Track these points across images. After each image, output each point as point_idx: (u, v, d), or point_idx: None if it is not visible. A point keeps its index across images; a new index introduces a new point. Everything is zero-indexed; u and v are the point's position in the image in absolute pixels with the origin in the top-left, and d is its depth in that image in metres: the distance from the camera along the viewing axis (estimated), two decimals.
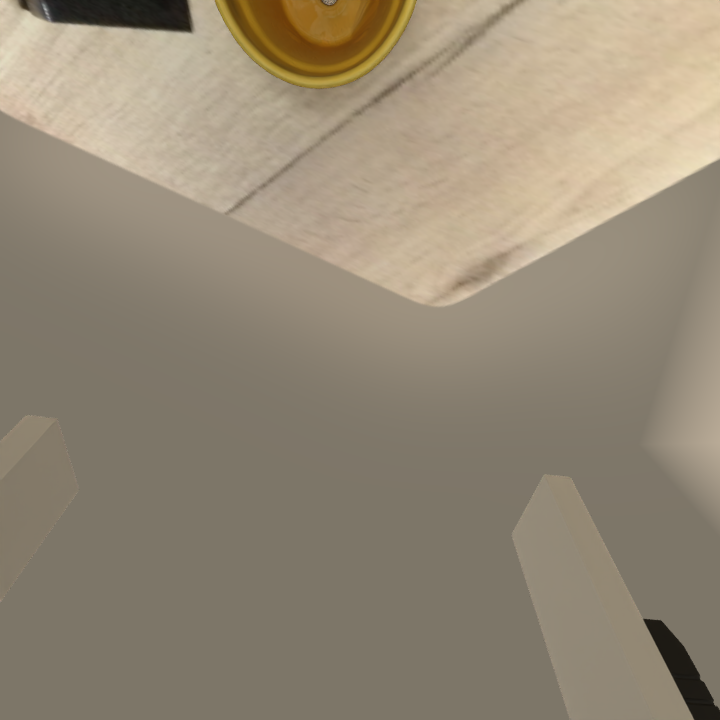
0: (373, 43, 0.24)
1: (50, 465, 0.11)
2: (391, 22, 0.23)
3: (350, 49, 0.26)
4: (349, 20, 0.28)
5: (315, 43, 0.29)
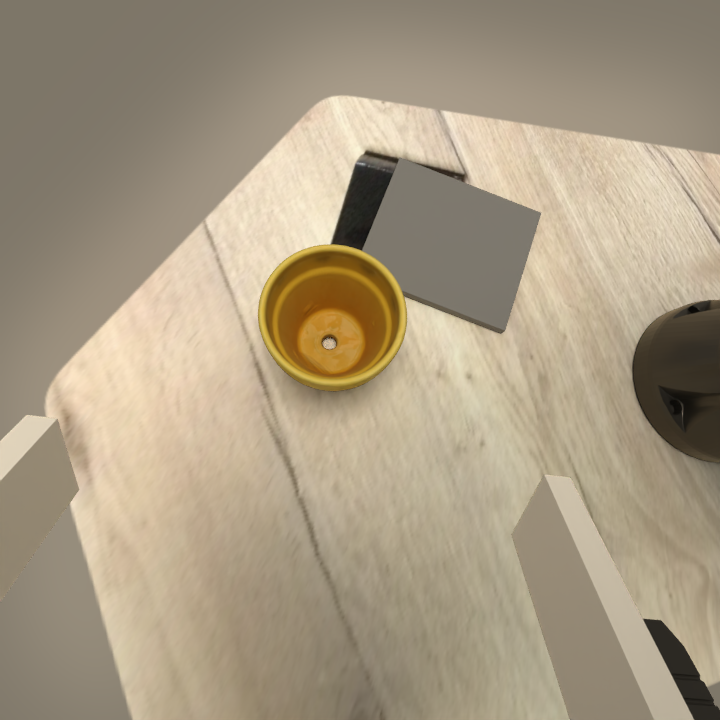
0: (283, 351, 0.32)
1: (50, 465, 0.11)
2: (291, 365, 0.32)
3: (288, 341, 0.35)
4: (310, 352, 0.38)
5: (302, 325, 0.38)
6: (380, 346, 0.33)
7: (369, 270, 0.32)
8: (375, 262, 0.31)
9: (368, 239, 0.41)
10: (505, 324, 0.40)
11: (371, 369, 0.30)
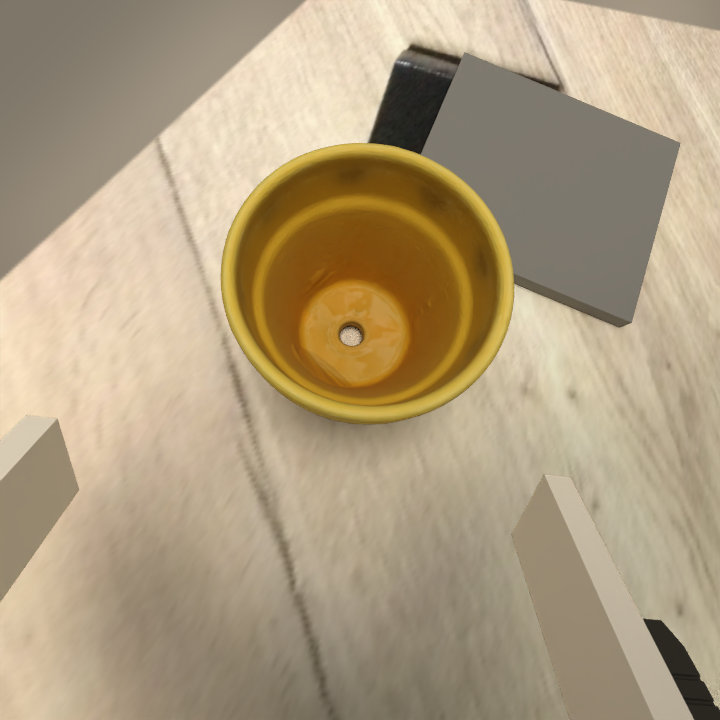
0: (271, 346, 0.17)
1: (50, 465, 0.11)
2: (286, 373, 0.17)
3: (283, 330, 0.20)
4: (320, 350, 0.23)
5: (308, 305, 0.23)
6: (448, 342, 0.18)
7: (436, 199, 0.17)
8: (453, 179, 0.16)
9: None
10: (632, 312, 0.25)
11: (446, 388, 0.15)
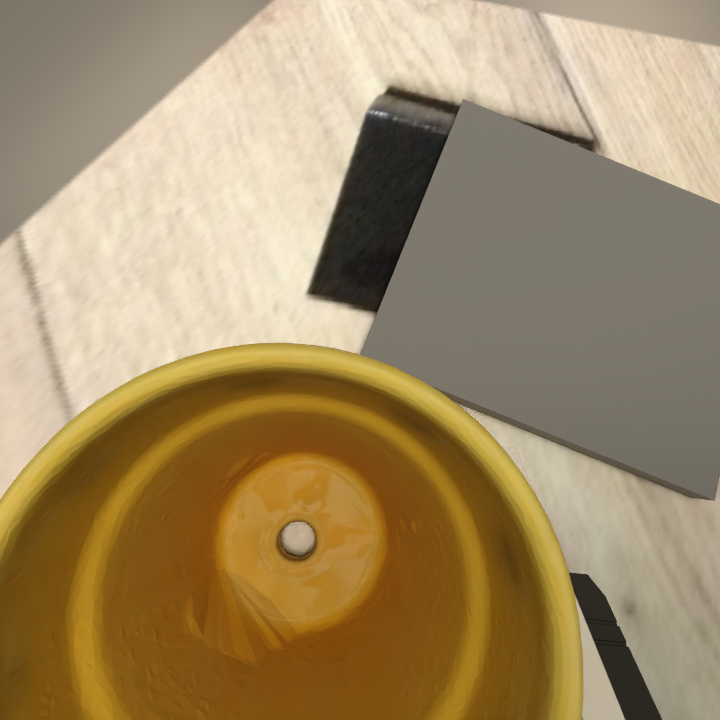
0: (106, 711, 0.09)
1: None
2: None
3: (166, 596, 0.12)
4: (247, 570, 0.15)
5: (230, 497, 0.15)
6: (446, 656, 0.10)
7: (419, 426, 0.09)
8: (451, 418, 0.08)
9: (395, 279, 0.18)
10: (714, 484, 0.17)
11: None
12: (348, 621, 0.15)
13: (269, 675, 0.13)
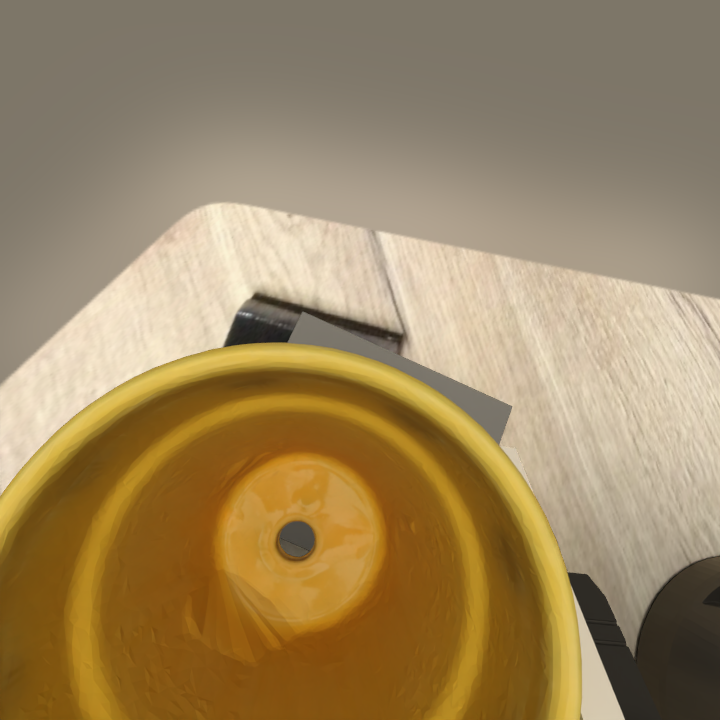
0: (104, 712, 0.09)
1: None
2: None
3: (165, 596, 0.12)
4: (246, 570, 0.15)
5: (229, 497, 0.15)
6: (445, 656, 0.10)
7: (418, 426, 0.09)
8: (449, 418, 0.08)
9: None
10: None
11: None
12: (347, 621, 0.15)
13: (268, 675, 0.13)
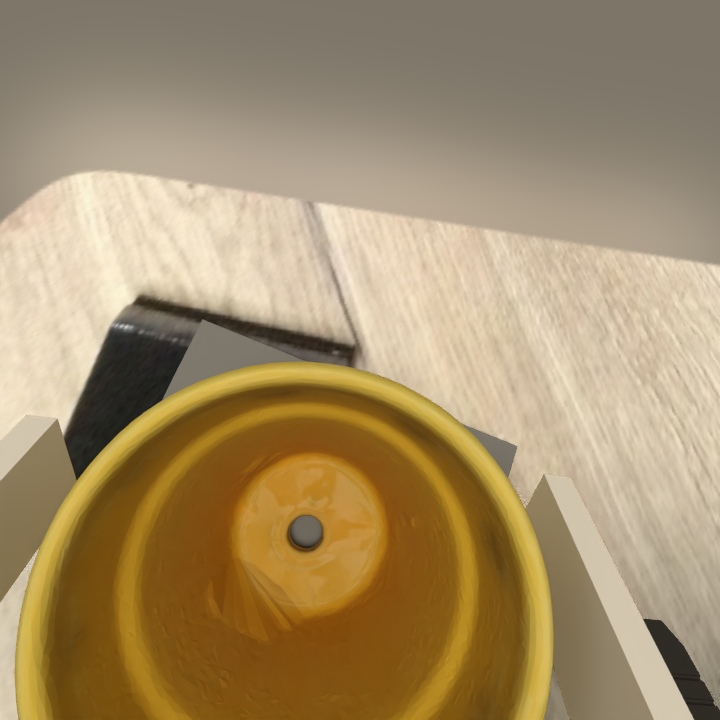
0: (146, 674, 0.10)
1: (50, 465, 0.11)
2: None
3: (191, 578, 0.13)
4: (260, 559, 0.17)
5: (245, 492, 0.17)
6: (439, 635, 0.12)
7: (420, 434, 0.10)
8: (448, 429, 0.09)
9: None
10: None
11: None
12: (351, 607, 0.16)
13: (280, 652, 0.14)
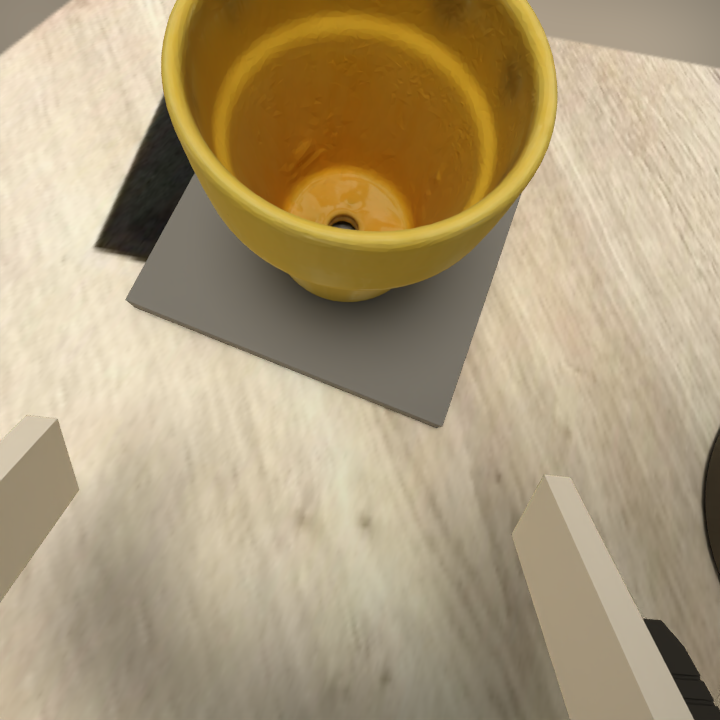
0: None
1: (50, 465, 0.11)
2: None
3: None
4: None
5: (291, 193, 0.20)
6: (465, 201, 0.14)
7: (452, 3, 0.13)
8: None
9: (166, 232, 0.20)
10: (443, 413, 0.19)
11: (467, 211, 0.11)
12: None
13: None
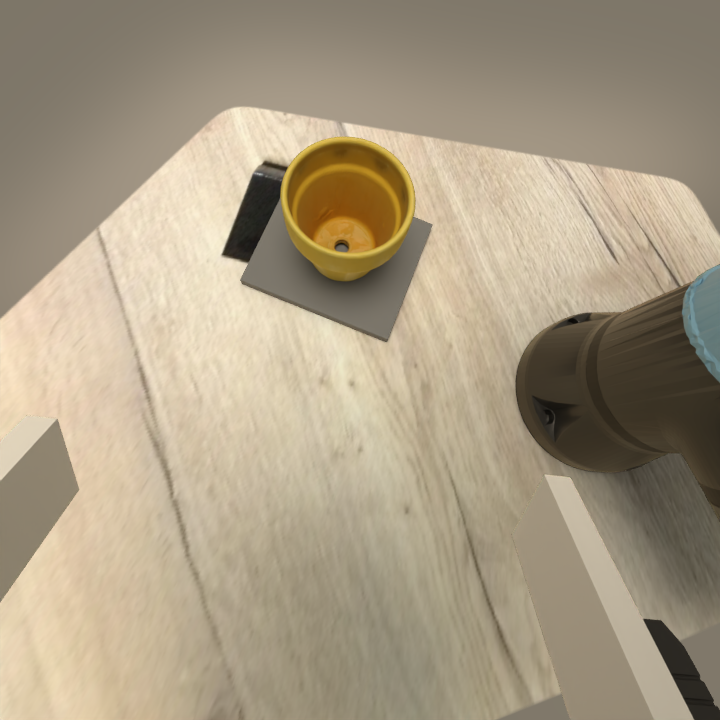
0: None
1: (50, 465, 0.11)
2: None
3: None
4: None
5: (317, 229, 0.41)
6: (389, 238, 0.36)
7: (382, 165, 0.35)
8: (388, 154, 0.34)
9: (257, 248, 0.42)
10: (388, 333, 0.41)
11: (381, 246, 0.33)
12: None
13: None
